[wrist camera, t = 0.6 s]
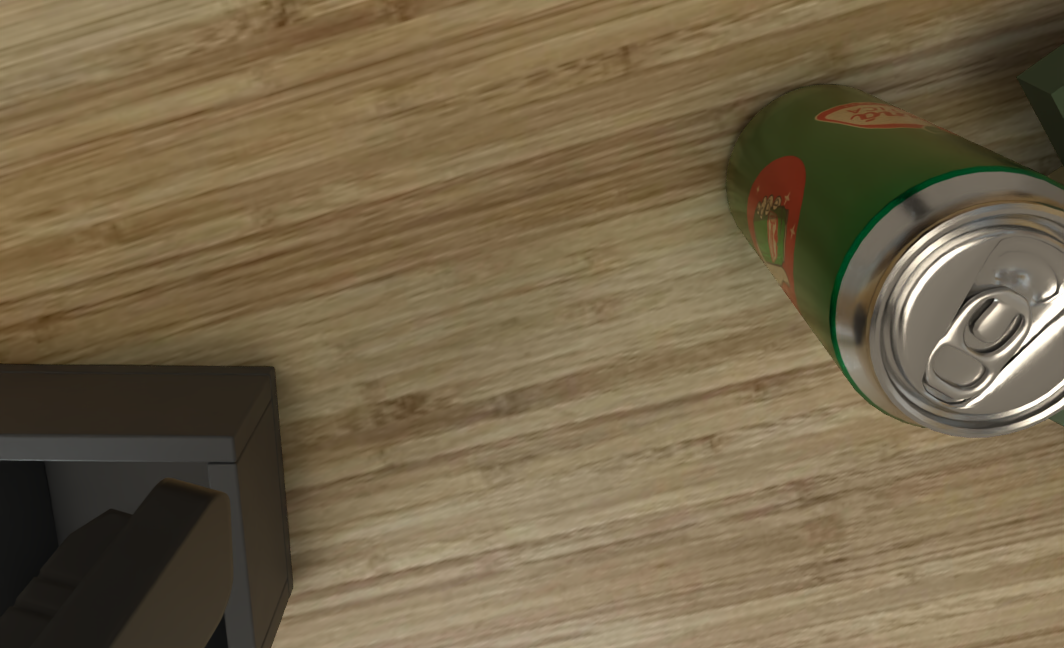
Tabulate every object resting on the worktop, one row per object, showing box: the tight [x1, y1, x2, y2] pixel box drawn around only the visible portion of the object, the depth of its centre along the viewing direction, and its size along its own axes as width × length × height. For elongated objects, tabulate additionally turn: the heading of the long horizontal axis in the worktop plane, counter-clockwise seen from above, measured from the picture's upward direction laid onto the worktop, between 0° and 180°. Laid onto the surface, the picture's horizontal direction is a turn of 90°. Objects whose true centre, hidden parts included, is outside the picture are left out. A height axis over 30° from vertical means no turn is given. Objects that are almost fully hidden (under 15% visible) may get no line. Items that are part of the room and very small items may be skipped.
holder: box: [0, 364, 293, 648], centre depth 30 cm, size 8×15×5 cm, turn 89°
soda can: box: [726, 84, 1064, 438], centre depth 23 cm, size 5×5×12 cm
